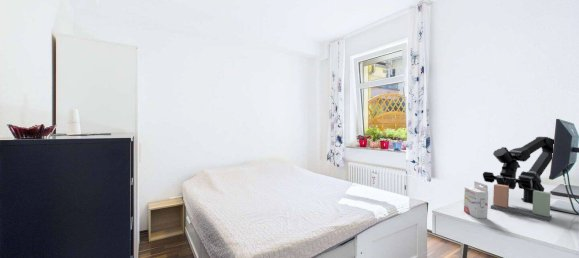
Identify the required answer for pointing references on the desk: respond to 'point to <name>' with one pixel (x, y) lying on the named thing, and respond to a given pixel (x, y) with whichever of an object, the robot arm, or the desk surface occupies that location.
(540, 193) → the pale green block
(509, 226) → the desk surface
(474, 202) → the ink cartridge box
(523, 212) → the grey flat slab
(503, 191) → the peach button block
